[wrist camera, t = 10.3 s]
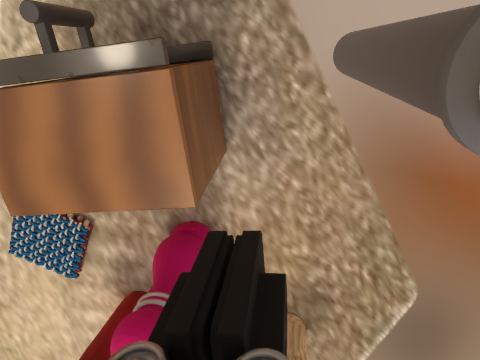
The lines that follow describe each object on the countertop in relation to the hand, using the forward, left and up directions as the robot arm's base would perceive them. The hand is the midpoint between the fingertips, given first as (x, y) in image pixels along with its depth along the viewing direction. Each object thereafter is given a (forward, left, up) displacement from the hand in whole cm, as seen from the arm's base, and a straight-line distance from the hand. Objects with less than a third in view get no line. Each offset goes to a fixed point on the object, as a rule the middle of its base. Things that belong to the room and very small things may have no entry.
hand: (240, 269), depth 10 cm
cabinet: (+13, -1, -27) cm, 30 cm away
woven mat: (+31, +14, -27) cm, 44 cm away
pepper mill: (+11, +16, -27) cm, 33 cm away
